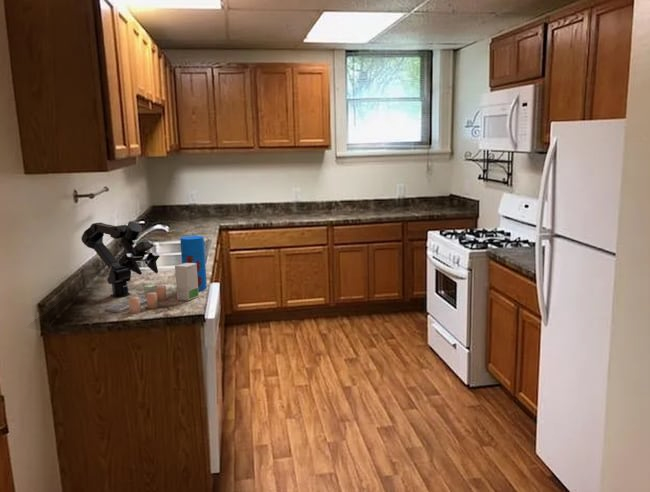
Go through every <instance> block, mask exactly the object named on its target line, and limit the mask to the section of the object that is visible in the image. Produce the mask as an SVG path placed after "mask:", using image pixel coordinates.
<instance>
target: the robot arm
mask: <svg viewBox="0 0 650 492" xmlns="http://www.w3.org/2000/svg"><path fill="white" fill-rule="evenodd" d="M142 230H143V227H142V225H140V224H139V223H137V222H134V221H133V220H130V221H128V223H127V225H126V224H121V225H112V224H107V223H103V222H95V223H92V224H90V226H89V227H87V229H86V230H84V232H83V234H82V235H81V237H80V239H81V242H82V243H83V244H84V245H85V247H87V248H90V249H92V250H94V252H95V253H96V254H97V256H99V258H100V259H101V260H102V262H103V263H104V264H105V265H106V266H107V267H108V268H109V270H108V271H109V272H108V274H109V275H108V277H107V283H108V284H109V285H111V287H112V288H111V289H112V294H110V297H115V298H122V297H125V296H126V297H127V296H129V295H130V294H131V292H129V289H128V286H129V285H128V282H130V281H131V276H132V272H134V273H135V274H138V275H140V276H141V275H142V274H143V273H142V271H141V269H140V267H139V265H138V264H137V263H142V262H144V263H145V265H146V267H147V268H148V269H150V270H151V271H152V272H153V273H155V274H159V273H158V272H159V269H158V265H157V262H158V261H157V260H158V259H159V258H160V254H159V253H158V252H149V253H148V252H147V251H148V250H151V249H152V248H153V247H154V244H153V242H152V241H151V240H141V241H140V242H138V243H137V242H136V241H137V240H138V239H139V237H140V235H141V232H142ZM105 234H106V235H109V236H110V238H112V239H113V240H119V239H120V240H119V244H118V247H119V248H123V250H124V251H125V253H123V254H122V256H121V257H120V258H119V261H118V259H117V258H116V257H115V255H114V254H113V253H112V252H111V251H110V250H109V248H108V247H107V246H106V245H105V244H104V241H103V240H104V239H103V238H104V236H105ZM146 255H147V256H146Z"/></svg>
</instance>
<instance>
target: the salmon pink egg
mask: <svg viewBox="0 0 650 492" xmlns="http://www.w3.org/2000/svg"><path fill="white" fill-rule="evenodd" d="M145 298H146V300H147V303H146V307H147V308H146V309H151V310H152V309H157V308H158V307H159V304H158V302H159V301H157V293H156V292H150V293H147V294H146V297H145Z"/></svg>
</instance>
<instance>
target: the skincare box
mask: <svg viewBox="0 0 650 492" xmlns="http://www.w3.org/2000/svg"><path fill="white" fill-rule="evenodd" d="M174 270H175V283H176V285H175V286H176V298H177V300H179V301H191V300H193V299H196V298H199V296H200V294H199V292H200V291H198V278H197V263H183V264H182V263H179V264H177V265H174Z"/></svg>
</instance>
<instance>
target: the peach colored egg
mask: <svg viewBox="0 0 650 492" xmlns="http://www.w3.org/2000/svg"><path fill="white" fill-rule="evenodd" d="M140 297H141V296H131V297H128V299H127V300H128V301H129V310H128V311H129V314H139V313H141V310H142V309H141V306H140Z"/></svg>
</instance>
